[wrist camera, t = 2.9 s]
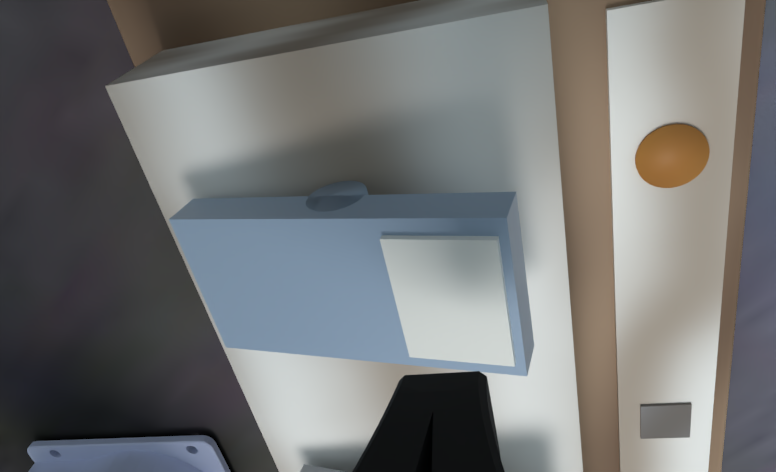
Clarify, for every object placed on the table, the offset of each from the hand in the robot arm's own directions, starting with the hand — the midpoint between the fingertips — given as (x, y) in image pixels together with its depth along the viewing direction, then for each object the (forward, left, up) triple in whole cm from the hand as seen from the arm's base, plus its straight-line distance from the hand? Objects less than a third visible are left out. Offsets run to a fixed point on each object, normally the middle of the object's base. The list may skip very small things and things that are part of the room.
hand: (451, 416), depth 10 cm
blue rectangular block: (-2, 0, -5) cm, 6 cm away
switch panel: (-1, -5, -10) cm, 11 cm away
